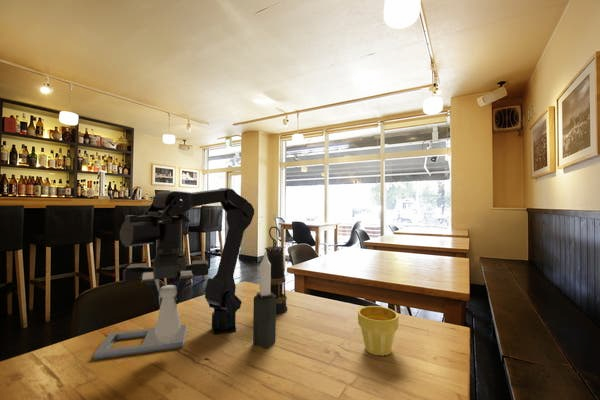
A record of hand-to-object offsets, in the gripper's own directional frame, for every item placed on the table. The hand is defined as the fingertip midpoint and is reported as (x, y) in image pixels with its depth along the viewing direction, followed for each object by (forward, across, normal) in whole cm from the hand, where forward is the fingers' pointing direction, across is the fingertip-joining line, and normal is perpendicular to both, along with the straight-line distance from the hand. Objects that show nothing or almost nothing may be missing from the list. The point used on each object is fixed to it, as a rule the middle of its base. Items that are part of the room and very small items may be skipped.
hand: (168, 304), depth 70 cm
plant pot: (+13, +52, -13) cm, 55 cm away
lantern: (+13, +33, +21) cm, 41 cm away
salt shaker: (+9, 0, 0) cm, 9 cm away
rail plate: (+13, -7, +9) cm, 17 cm away
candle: (+13, +24, 0) cm, 28 cm away
